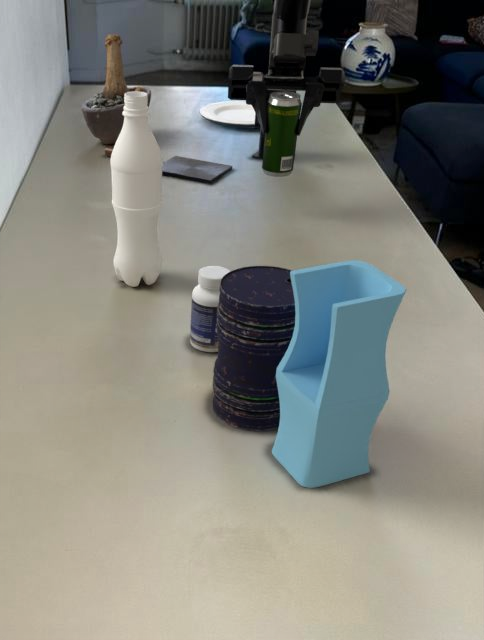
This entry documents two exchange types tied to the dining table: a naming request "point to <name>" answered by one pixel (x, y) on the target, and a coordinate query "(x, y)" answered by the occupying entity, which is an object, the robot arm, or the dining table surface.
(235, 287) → the storage jar
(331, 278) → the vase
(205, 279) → the pill bottle
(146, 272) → the water bottle
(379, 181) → the dining table surface
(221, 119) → the plate
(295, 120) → the beer can
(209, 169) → the spatula
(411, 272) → the dining table surface
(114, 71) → the planter
